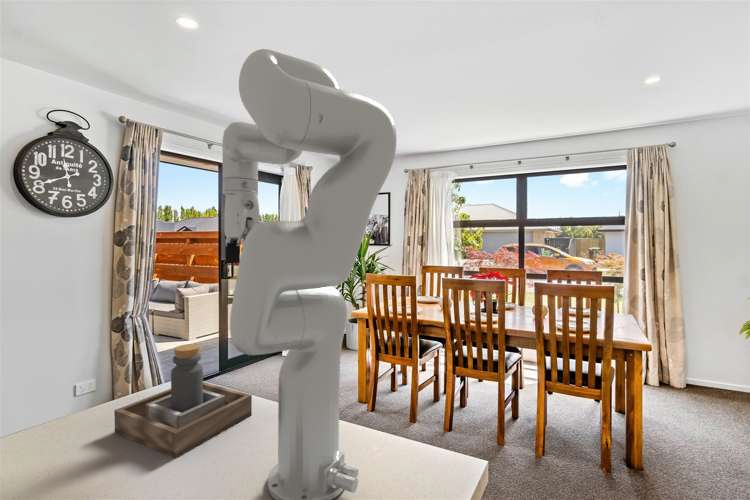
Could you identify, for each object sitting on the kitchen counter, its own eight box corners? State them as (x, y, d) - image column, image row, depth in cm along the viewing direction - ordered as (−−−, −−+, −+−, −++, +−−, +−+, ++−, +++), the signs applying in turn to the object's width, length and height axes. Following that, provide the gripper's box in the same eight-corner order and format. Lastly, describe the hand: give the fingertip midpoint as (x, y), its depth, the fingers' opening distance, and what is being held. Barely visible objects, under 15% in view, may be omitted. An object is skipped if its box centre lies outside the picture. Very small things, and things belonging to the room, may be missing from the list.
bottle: (208, 413, 82) (208, 343, 81) (192, 427, 76) (192, 352, 75) (182, 411, 82) (181, 342, 82) (164, 425, 76) (164, 350, 76)
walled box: (251, 415, 83) (251, 392, 83) (175, 458, 67) (175, 430, 67) (194, 398, 91) (194, 377, 91) (114, 432, 75) (114, 407, 75)
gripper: (273, 186, 83) (272, 266, 83) (242, 192, 96) (242, 261, 96) (238, 183, 78) (238, 268, 78) (210, 190, 91) (211, 262, 92)
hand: (240, 264), depth 87 cm, fingers open, 9 cm apart
